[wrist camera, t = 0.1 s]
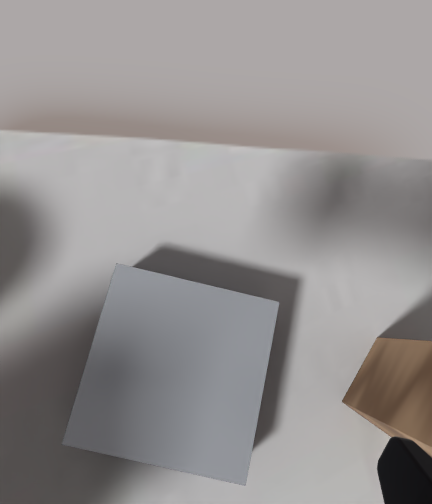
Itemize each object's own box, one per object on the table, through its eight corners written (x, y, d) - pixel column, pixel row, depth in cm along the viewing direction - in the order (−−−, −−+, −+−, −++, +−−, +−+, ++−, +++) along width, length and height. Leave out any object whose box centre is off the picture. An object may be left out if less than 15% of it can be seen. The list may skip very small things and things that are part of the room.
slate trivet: (237, 463, 21) (245, 485, 18) (79, 427, 21) (61, 444, 18) (268, 304, 23) (279, 301, 20) (125, 270, 23) (116, 263, 20)
